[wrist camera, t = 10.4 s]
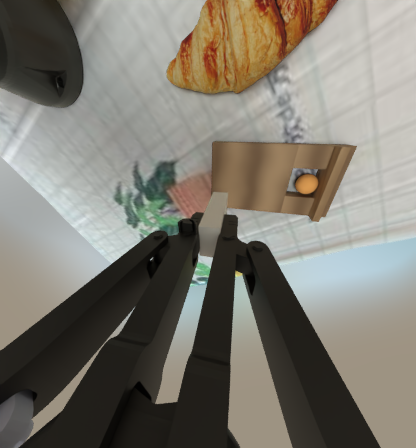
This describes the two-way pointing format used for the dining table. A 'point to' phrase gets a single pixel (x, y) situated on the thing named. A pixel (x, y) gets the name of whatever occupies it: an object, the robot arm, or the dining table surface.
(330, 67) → the dining table surface
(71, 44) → the robot arm
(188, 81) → the croissant
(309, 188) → the ball
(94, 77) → the dining table surface
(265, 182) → the wooden tray with slot
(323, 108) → the dining table surface
